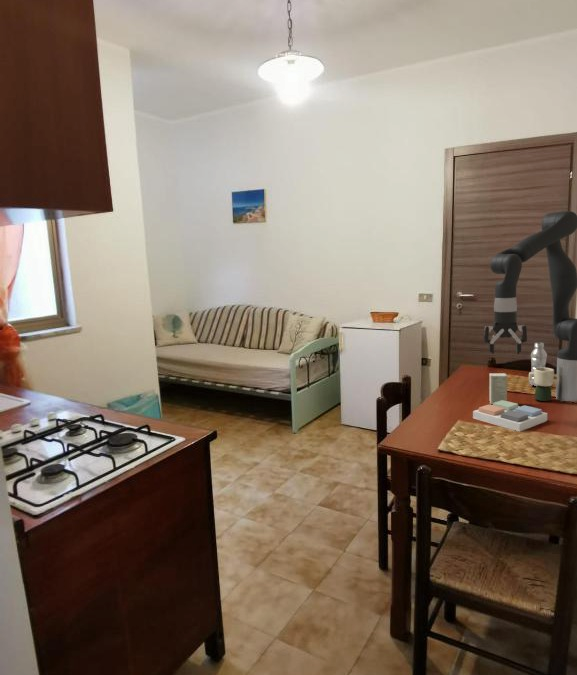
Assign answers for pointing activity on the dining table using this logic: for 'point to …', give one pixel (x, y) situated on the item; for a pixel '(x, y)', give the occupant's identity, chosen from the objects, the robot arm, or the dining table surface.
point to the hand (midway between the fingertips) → (504, 353)
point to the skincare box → (497, 387)
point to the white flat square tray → (508, 423)
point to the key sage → (506, 405)
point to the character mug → (543, 382)
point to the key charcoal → (514, 416)
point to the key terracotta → (491, 410)
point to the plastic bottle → (537, 359)
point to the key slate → (529, 410)
